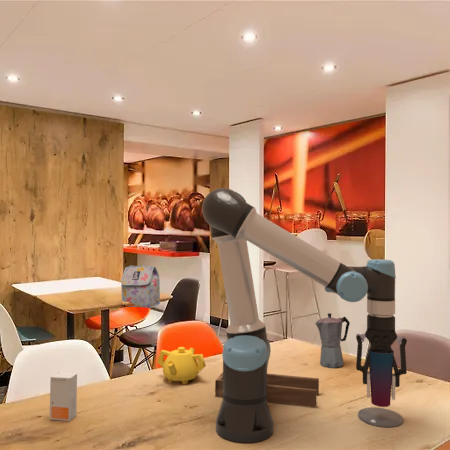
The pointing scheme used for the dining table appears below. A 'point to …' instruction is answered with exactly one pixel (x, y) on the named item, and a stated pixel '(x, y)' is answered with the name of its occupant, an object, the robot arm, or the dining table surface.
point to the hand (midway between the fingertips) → (380, 396)
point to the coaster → (380, 417)
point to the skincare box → (63, 396)
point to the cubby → (285, 389)
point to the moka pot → (331, 340)
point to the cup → (381, 376)
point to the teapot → (181, 364)
